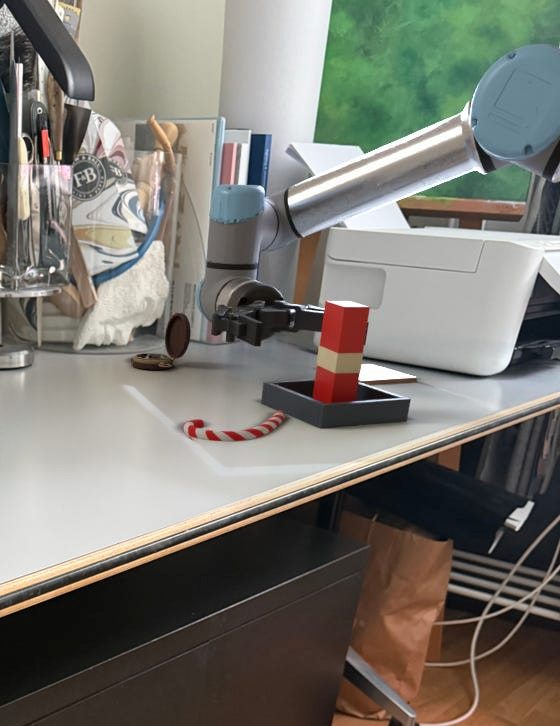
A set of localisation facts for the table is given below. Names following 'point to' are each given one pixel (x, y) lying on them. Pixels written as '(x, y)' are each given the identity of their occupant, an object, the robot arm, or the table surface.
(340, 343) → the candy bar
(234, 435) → the candy cane
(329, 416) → the tray
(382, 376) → the board
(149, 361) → the compass
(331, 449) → the table surface
